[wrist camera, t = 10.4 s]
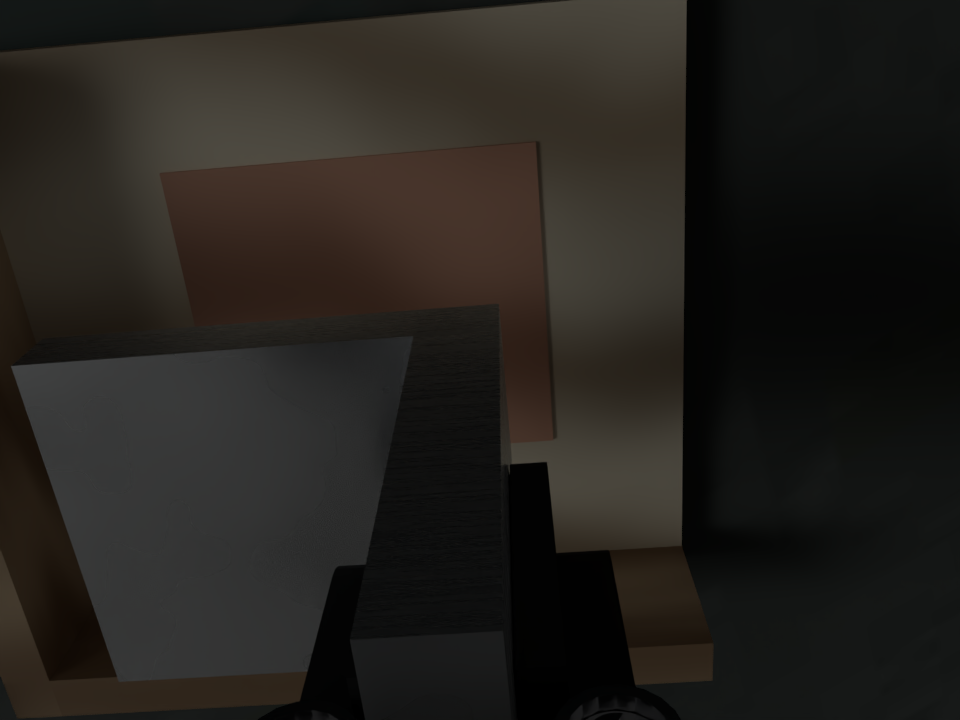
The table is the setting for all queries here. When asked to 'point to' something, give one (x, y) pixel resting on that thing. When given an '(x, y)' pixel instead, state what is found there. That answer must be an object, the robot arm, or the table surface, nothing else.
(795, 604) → the table surface
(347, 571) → the robot arm
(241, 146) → the wooden tray
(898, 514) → the table surface
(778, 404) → the table surface
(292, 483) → the bracket
